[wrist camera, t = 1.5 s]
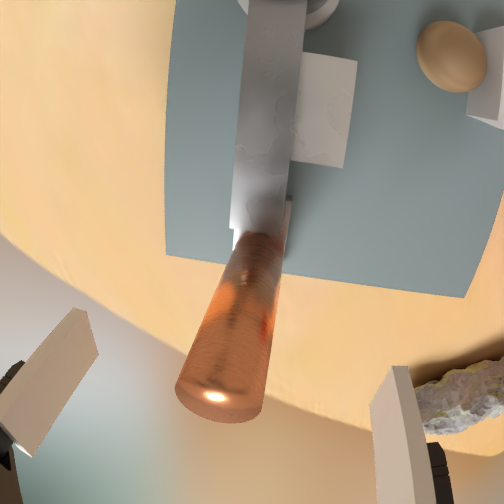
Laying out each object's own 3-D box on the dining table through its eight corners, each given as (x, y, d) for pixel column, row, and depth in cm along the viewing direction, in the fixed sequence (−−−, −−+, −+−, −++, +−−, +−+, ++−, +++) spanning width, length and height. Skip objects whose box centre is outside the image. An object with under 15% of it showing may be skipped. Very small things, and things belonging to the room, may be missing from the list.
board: (192, -57, 13) (165, -88, 8) (513, 13, 11) (552, 4, 6) (171, 247, 24) (143, 283, 20) (458, 290, 22) (482, 329, 18)
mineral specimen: (385, 413, 31) (391, 462, 25) (387, 376, 28) (397, 431, 22) (498, 382, 27) (515, 423, 21) (513, 342, 24) (537, 385, 18)
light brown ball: (407, 19, 13) (433, 1, 9) (467, 41, 13) (502, 33, 9) (402, 81, 15) (429, 77, 11) (462, 101, 15) (498, 105, 11)
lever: (248, -46, 12) (185, -166, 1) (351, -36, 11) (398, -155, 1) (222, 264, 22) (158, 407, 11) (309, 278, 21) (306, 435, 11)
